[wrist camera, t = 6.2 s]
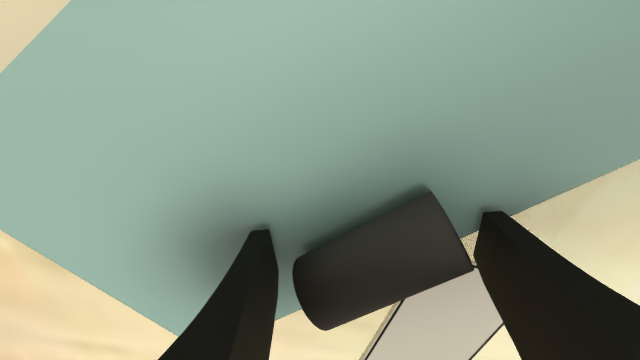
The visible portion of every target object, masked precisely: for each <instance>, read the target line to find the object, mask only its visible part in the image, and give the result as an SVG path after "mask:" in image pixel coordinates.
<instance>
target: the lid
mask: <svg viewBox="0 0 640 360" xmlns="http://www.w3.org/2000/svg"><path fill="white" fill-rule="evenodd" d="M638 159H640V0H71V1H70V2H69V3H68V4H67V5H66V6H65V7H64V8H63V9H62V10H61V11H60V12H59V13H58V14H57V15H56V16H55V17H54V18H53V19H52V20H51V21H50V22H49V23H48V25H47V26H46V27H45V28H44V29H43V30H42V31H41V32H40V33H39V34H38V35H37V36H36V37H35V38H34V39H33V40H32V41H31V42H30V43H29V44H28V45H27V46H26V47H25V48H24V49H23V50H22V51H21V52H20V53H19V54H18V56H17V57H16V58H15V59H14V60H13V61H12V62H11V63H10V64H9V65H8V66H7V67H6V68H5V69H4V70H3V71H2V72H1V73H0V230H1V231H3V232H5V233H6V234H8V235H10V236H11V237H13V238H15V239H16V240H18V241H20V242H21V243H23V244H25V245H26V246H28V247H30V248H31V249H33V250H35V251H36V252H38V253H40V254H41V255H43V256H45V257H46V258H48V259H50V260H51V261H53V262H55V263H56V264H58V265H60V266H61V267H63V268H65V269H66V270H68V271H70V272H71V273H73V274H75V275H76V276H78V277H80V278H81V279H83V280H85V281H86V282H88V283H90V284H91V285H93V286H95V287H96V288H98V289H100V290H101V291H103V292H105V293H106V294H108V295H110V296H111V297H113V298H115V299H116V300H118V301H120V302H121V303H123V304H125V305H126V306H128V307H130V308H132V309H133V310H135V311H137V312H138V313H140V314H142V315H143V316H145V317H147V318H148V319H150V320H152V321H153V322H155V323H157V324H158V325H160V326H162V327H163V328H165V329H167V330H168V331H170V332H172V333H173V334H175V335H177V336H178V337H179V336H180V335H181V334H182V333H183V331H184V330H185V329H186V328H187V327H188V325H189V324H190V323H191V322H192V320H193V319H194V318H195V317H196V315H197V314H198V313H199V312H200V310H201V309H202V308H203V306H204V305H205V304H206V302H207V301H208V299H209V298H210V297H211V295H212V294H213V292H214V291H215V289H216V288H217V287H218V285H219V284H220V282H221V281H222V279H223V278H224V276H225V274H226V273H227V271H228V270H229V268H230V266H231V265H232V263H233V262H234V260H235V258H236V256H237V255H238V253H239V251H240V250H241V248H242V246H243V244H244V242H245V240H246V239H247V237H248V235H249V233H250V232H251V231H253V230H266V229H270V234H271V238H272V243H273V247H274V251H275V256H276V260H277V264H278V269H279V278H278V300H277V307H276V314H275V320H278V319H280V318H282V317H284V316H287V315H289V314H291V313H293V312H296V311H298V310H300V309H303V311H304V313H305V314H306V316H307V317H308V319H309V320H310V321H311V322H312V323H313V324H314V325H315V326H316V327H318V328H319V329H321V330H324V331H327V330H330V329H333V328H335V327H337V326H340V325H342V324H345V323H347V322H350V321H352V320H355V319H357V318H359V317H362V316H364V315H367V314H369V313H372V312H374V311H377V310H379V309H381V308H384V307H386V306H389V305H391V304H394V303H396V302H399V301H401V300H403V299H406V298H408V297H411V296H413V295H416V294H418V293H421V292H423V291H425V290H428V289H430V288H433V287H435V286H438V285H440V284H443V283H445V282H448V281H450V280H452V279H455V278H457V277H460V276H462V275H465V274H467V273H470V272H472V271H474V267H473V265H472V262H471V260H470V258H469V256H468V254H467V252H466V250H465V248H464V246H463V244H462V242H461V240H460V238H462V237H465V236H467V235H469V234H471V233H474V232H476V231H478V230H479V228H480V224H481V220H482V215H483V212H492V211H503V212H504V213H506V214H507V215H508V216H512V215H514V214H516V213H519V212H521V211H523V210H526V209H528V208H530V207H532V206H535V205H537V204H539V203H541V202H544V201H546V200H548V199H550V198H553V197H555V196H557V195H559V194H562V193H564V192H566V191H568V190H571V189H573V188H575V187H577V186H580V185H582V184H584V183H586V182H589V181H591V180H593V179H595V178H598V177H600V176H602V175H604V174H607V173H609V172H611V171H613V170H616V169H618V168H620V167H622V166H625V165H627V164H629V163H631V162H634V161H636V160H638Z"/></svg>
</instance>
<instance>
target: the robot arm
mask: <svg viewBox="0 0 640 360" xmlns="http://www.w3.org/2000/svg"><path fill="white" fill-rule="evenodd" d="M473 255H474V258H475V261H476V264H477V267H478V270H479V273H480V276H481V278H482V281H483V283H484V285H485V287H486V289H487V291H488V293H489V295H490V297H491V299H492V301H493V303H494V305H495V307H496V309H497V311H498V313H499V315H500V317H501V319H502V321H503V323H504V325H505V327H506V329H507V331H508V333H509V335H510V337H511V338H512V340H513V342H514V344H515V346H516V349H517V351H518V353H519V355H520V357H521V359H522V360H640V306H639V305H638V304H636V303H634V302H632V301H631V300H629V299H627V298H626V297H624V296H622V295H621V294H619V293H617V292H616V291H614V290H612V289H610V288H609V287H607V286H606V285H604V284H602V283H601V282H599V281H598V280H596V279H595V278H593V277H592V276H590V275H589V274H587V273H586V272H584V271H583V270H581V269H580V268H578V267H577V266H575V265H574V264H572V263H571V262H569V261H568V260H567V259H565V258H564V257H562V256H561V255H560V254H558V253H557V252H556V251H554V250H553V249H551V248H550V247H549V246H547V245H546V244H545V243H543V242H542V241H541V240H539V239H538V238H537V237H536V236H534V235H533V234H532V233H530V232H529V231H528V230H526V229H525V228H524V227H523V226H521V225H520V224H519V223H517V222H516V221H515V220H514V219H512V218H511V217H510V216H508V215H507V214H506V213H504V212H503V211H492V212H483V215H482V220H481V224H480V228H479V233H478V237H477V241H476V245H475V250H474V254H473ZM278 278H279V269H278V264H277V260H276V256H275V251H274V247H273V243H272V238H271V234H270V229H266V230H253V231H251V232H250V233H249V235H248V237H247V239H246V240H245V242H244V244H243V246H242V248H241V250H240V251H239V253H238V255H237V256H236V258H235V260H234V262H233V263H232V265H231V266H230V268H229V270H228V271H227V273H226V274H225V276H224V278H223V279H222V281H221V282H220V284H219V285H218V287H217V288H216V289H215V291H214V292H213V294H212V295H211V297H210V298H209V299H208V301H207V302H206V304H205V305H204V306H203V308H202V309H201V310H200V312H199V313H198V314H197V315H196V317H195V318H194V319H193V320H192V322H191V323H190V324H189V325H188V327H187V328H186V329H185V330H184V331H183V333H182V334H181V335H180V336H179V337H178V338H177V339H176V340H175V342H174V343H173V344H172V345H171V346H170V347H169V348H168V349H167V350H166V352H165V353H164V354H163V355H162V356H161V357H160V358H159V359H158V360H269V354H270V347H271V341H272V334H273V327H274V321H275V314H276V307H277V300H278Z"/></svg>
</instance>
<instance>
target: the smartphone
mask: <svg viewBox="0 0 640 360" xmlns="http://www.w3.org/2000/svg"><path fill="white" fill-rule="evenodd" d="M471 262H472V265H473V267H474V271H472V272H470V273H467V274H465V275H462V276H460V277H457V278H455V279H452V280H450V281H448V282H445V283H443V284H440V285H438V286H435V287H433V288H430V289H428V290H425V291H423V292H421V293H418V294H416V295H413V296H411V297H408V298H406V299H403V300H401V301H399V302H396V303H395V304H394V305H393V307H392V309H391V310H390V312H389V313H388V315H387V317H386V318H385V320H384V321H383V323H382V325H381V327H380V328H379V329H378V331H377V333H378V334H377V333H376V334H375V336H374V337H373V339H372V341H371V342H370V344H369V345H368V347H367V349H366V350H365V352H364V353H363V354H362V356H361V357H360V359H359V360H472V358H473V357H474V356H475V355H476V354H477V353H478V352H479V351H480V350H481V349H482V348H483V347H484V346H485V345H486V344H487V342H488V341H489V340H490V339H491V338H492V337H493V336H494V335H495V334H496V333H497V332H498V331H499V330H500V329H501V327H502V326H503V325H504V323H503V321H502V319H501V317H500V315H499V313H498V311H497V309H496V307H495V305H494V303H493V301H492V299H491V297H490V295H489V293H488V291H487V289H486V287H485V285H484V283H483V281H482V278H481V276H480V273H479V270H478V267H477V264H476V262H475V261H471Z"/></svg>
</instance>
